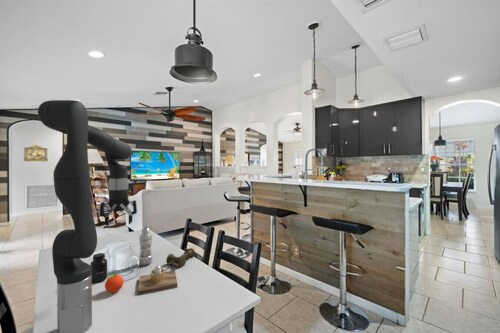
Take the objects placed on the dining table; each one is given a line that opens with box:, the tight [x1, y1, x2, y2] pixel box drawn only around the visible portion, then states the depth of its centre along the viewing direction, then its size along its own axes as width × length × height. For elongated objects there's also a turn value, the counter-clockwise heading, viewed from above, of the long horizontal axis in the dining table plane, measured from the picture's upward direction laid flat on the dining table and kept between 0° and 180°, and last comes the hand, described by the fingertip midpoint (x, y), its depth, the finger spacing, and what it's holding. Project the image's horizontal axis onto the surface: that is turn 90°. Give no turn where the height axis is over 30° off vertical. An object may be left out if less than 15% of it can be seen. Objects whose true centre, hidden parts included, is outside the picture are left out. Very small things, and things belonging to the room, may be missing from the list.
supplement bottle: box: [89, 252, 108, 284], centre depth 110 cm, size 7×7×12 cm
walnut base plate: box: [137, 269, 178, 296], centre depth 107 cm, size 14×16×2 cm
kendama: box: [166, 247, 196, 268], centre depth 129 cm, size 6×10×20 cm
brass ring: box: [150, 267, 166, 283], centre depth 107 cm, size 6×6×4 cm
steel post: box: [153, 265, 162, 274], centre depth 107 cm, size 3×3×6 cm
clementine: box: [104, 274, 124, 294], centre depth 100 cm, size 8×7×7 cm
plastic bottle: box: [138, 226, 153, 266], centre depth 126 cm, size 6×7×20 cm
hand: (119, 224), depth 103 cm, fingers open, 8 cm apart
